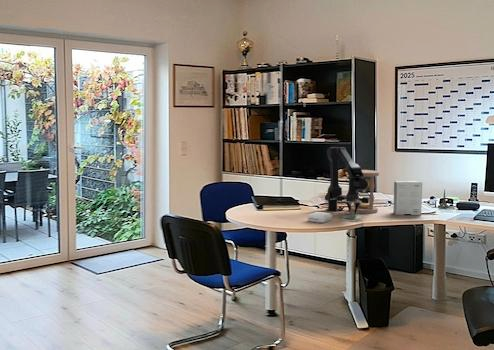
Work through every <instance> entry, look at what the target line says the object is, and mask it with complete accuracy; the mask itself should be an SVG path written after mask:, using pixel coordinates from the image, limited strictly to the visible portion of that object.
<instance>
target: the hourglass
mask: <svg viewBox="0 0 494 350" xmlns="http://www.w3.org/2000/svg"><path fill="white" fill-rule="evenodd" d="M361 170H362V173H363V175H364V178H365V177H367V178H365V180H366V181H367V183H368V187H367V188H369V196H368V197H369V198H370V202H369V203H361V204H360V205H359V207H358V210H357V214H364V215H365V214H368V215H369V214H376V213H378V211H379V209H378V207H377V206H374V202H375V195H374V190H375V177H377V176H379V175H380V171H378V170H373V169H372V170H370V169H361ZM368 177H370V178H368ZM367 188H366V189H365V190H362V193H366V190H367ZM355 203H356V201H354V202H353V205H351V210H352V209H355V206H356V205H355Z"/></svg>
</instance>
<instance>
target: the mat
mask: <svg viewBox="0 0 494 350" xmlns="http://www.w3.org/2000/svg"><path fill="white" fill-rule="evenodd" d="M362 217H363V215H361V214H357V215H356V217H355V218H354V219H352V218H343V217H342V218H341V219H340V221H346V222H356V221H358V220H359V219H360V218H362Z"/></svg>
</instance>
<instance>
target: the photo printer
mask: <svg viewBox="0 0 494 350" xmlns="http://www.w3.org/2000/svg"><path fill="white" fill-rule="evenodd" d="M332 218H333V216H332V213H330V212H321V211H314V212H312V213H309V214H308V216H307V221H308V222H311V223H319V224H321V223H322V224H323V223H326V222H328V221H331V220H332Z"/></svg>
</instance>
